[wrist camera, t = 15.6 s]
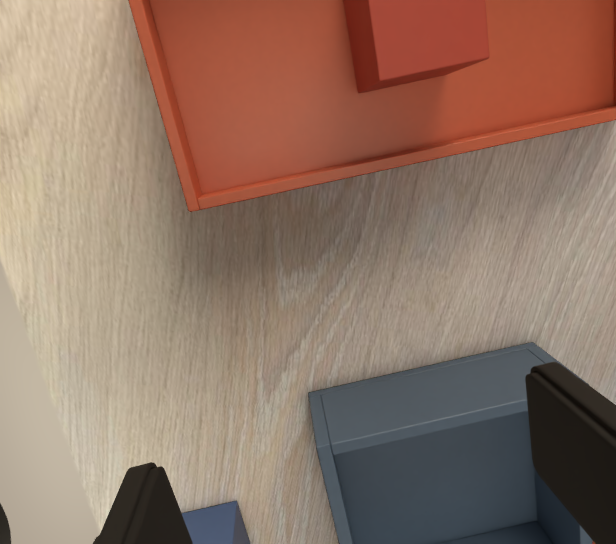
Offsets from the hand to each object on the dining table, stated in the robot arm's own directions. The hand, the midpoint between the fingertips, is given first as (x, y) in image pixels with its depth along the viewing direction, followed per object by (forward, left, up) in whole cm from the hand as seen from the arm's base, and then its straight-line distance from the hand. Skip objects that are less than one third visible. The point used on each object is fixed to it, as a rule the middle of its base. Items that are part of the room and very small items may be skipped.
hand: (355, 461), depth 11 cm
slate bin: (+6, -16, -17) cm, 24 cm away
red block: (+7, +12, -16) cm, 22 cm away
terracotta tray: (+7, +12, -17) cm, 22 cm away
